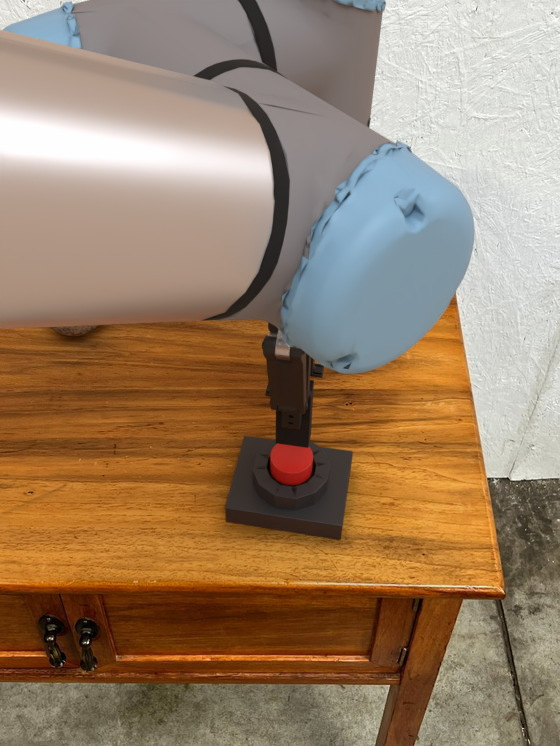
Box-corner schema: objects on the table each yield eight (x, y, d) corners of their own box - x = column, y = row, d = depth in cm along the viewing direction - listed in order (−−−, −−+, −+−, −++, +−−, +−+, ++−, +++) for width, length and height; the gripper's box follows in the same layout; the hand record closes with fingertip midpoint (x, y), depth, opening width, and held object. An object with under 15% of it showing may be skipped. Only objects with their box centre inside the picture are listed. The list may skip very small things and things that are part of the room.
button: (266, 482, 66) (266, 469, 64) (274, 449, 68) (274, 436, 67) (308, 488, 65) (309, 476, 64) (314, 455, 68) (315, 442, 66)
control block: (225, 522, 67) (223, 495, 64) (244, 450, 72) (243, 422, 70) (340, 540, 66) (343, 513, 63) (351, 465, 71) (354, 438, 68)
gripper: (350, 267, 42) (328, 511, 59) (373, 143, 51) (347, 387, 68) (214, 251, 43) (231, 497, 60) (260, 132, 51) (263, 375, 69)
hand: (293, 438), depth 64 cm, fingers closed
